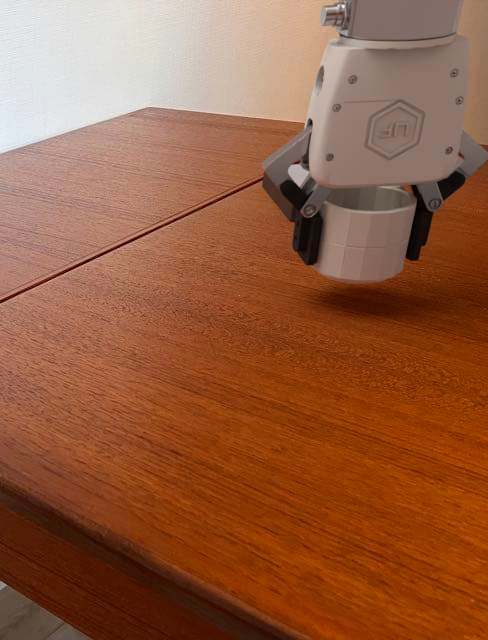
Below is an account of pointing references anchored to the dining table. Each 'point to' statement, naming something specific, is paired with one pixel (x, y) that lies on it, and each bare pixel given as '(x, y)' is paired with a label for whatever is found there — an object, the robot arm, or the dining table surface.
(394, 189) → the white handleless cup
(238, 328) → the dining table surface
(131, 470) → the dining table surface
